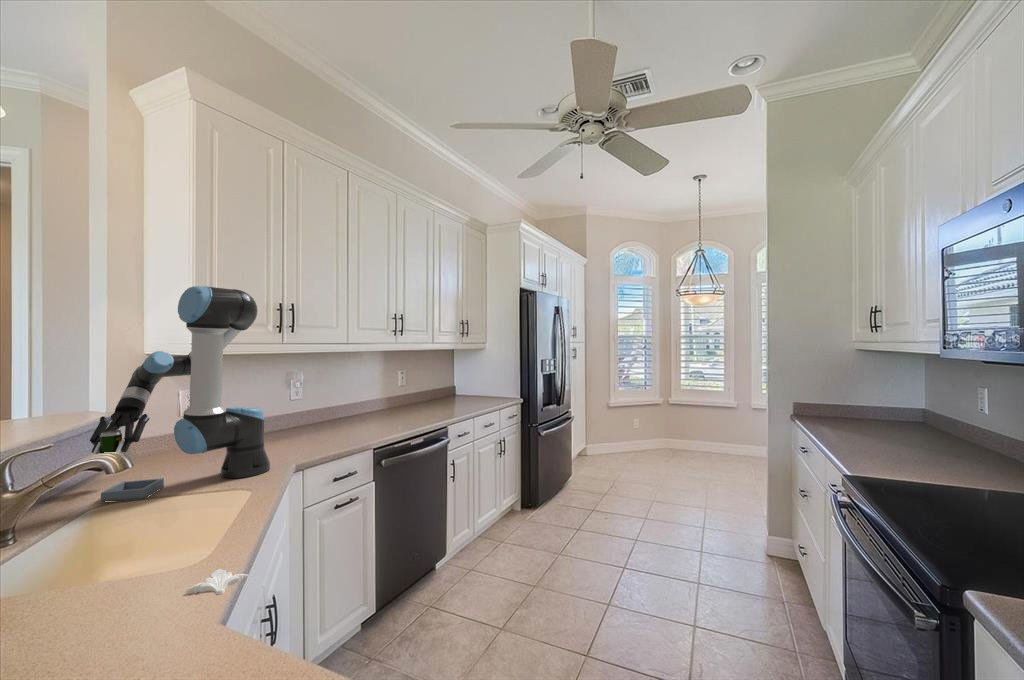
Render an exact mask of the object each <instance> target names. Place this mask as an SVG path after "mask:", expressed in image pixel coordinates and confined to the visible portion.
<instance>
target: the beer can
mask: <svg viewBox="0 0 1024 680" xmlns="http://www.w3.org/2000/svg"><path fill="white" fill-rule="evenodd" d="M122 440H123V433H122V430H121V429H120V430H119V429H118V430H114V431H106V432H102V433H101V435H100V453H104V452H116V450H117V448H118V446H119V443H120V441H122Z"/></svg>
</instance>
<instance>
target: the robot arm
mask: <svg viewBox="0 0 1024 680" xmlns="http://www.w3.org/2000/svg"><path fill="white" fill-rule="evenodd" d="M177 314H178V317H179V319H180V320H181V321H182V322H184V323H185V324H186V325H185V326H186V329H187V330H188V331H189V332H190V333H191V351H190V352H189V353H188V355H171V354H170V353H168V352H165V351H163V350H162V351H161V350H159V351H158V350H157V351H154V352H152V353H151V354H149V356H148V357H146V358H145V359H144V361H143V362H142V364H141V365H138V366H137V367H136V369H135V370H134V372H133V373H132V374H131V377H130V380H129V381H128V384H127V386H126V388H125V389H124V391H123V393H122V395H121V397H120V399H119V401H118V402H117V405H116V407H115V409H114V412H113V413H112V414H111V415H110V416H107V417H105V416H101V417H100V418H99V423H98V425H97V427H96V428H95V430H94V431H93V433H92V434H91V437H90V439H89V442H90V443H91V444H92V445H93V448H92V449H91V453H92V454H98V453H100V435H101V433H102V432H106V431H114V430H119V429H120V428H121V427H125V428H124V437H122V441H120V443H119V446H118V448H117V450H116V452H117V453H121V454H123V455H124V453H126V452H128V450H129V449H130V446H131V444H133V443H138V442H140V439H141V437H142V434H143V432H144V430H145V426H146V424H147V423H148V422H149V421H150V417H149V416H148V413H144V414H143V412H144V411H145V409H146V405H147V404H148V402H149V400H150V398H151V396H152V393H153V391H154V389H155V388H156V385H158V383H159V382H160V381H161V380H162V379H163V378H168V377H169V378H170V377H182V376H190V382H189V383H190V384H189V405H188V406H189V407H187V408H186V409H185V410H184V411H183V418H181V419H179V420H177V421H176V422H175V425H174V427H173V435H174V439H175V443H176V445H177V446H178V448H179V449H180V450H181V452H183V453H185V454H187V455H197V454H204V453H206V452H210V451H216V450H219V449H224V448H225V449H226V453H225V456H224V459H223V461H222V465H221V468H220V476H221V478H225V479H240V478H248V477H249V478H250V477H253V476H259V475H261V474H264V473H267V472H268V471H269V470H271V462H270V460H269V457H268V454H267V451H266V449H265V415H264V410H263V408H262V409H261V408H260V407H242V406H241V407H239V406H238V407H237V406H236V407H226V408H225V407H223V406H222V394H223V393H222V392H223V390H222V389H223V388H222V387H223V386H222V385H223V365H224V364H223V361H224V358H223V357H224V349H226V347H227V346H228V345H229V344H230V343H232V341H233V340H234V339H235V338H236V337H237V336H238V335H239V334H240V333H241V332H242V331H243V332H244V331H246V330H248V329H249V328H250V327H251V326H252V325H253V324H254V322H255V321H256V319H257V316H258V306H257V303H256V301H255V300H254V298H253V297H252V296H251V295H250V294H249V293H248V292H246V291H244V290H241V289H234V288H224V287H223V288H222V287H221V288H220V287H213V286H207V285H205V286H200V285H199V286H197V285H195V286H190V287H188V288H186V289H185V290H184V292H183V293H182V294H181V296H180V298H179V300H178V305H177ZM135 423H136V426H135Z"/></svg>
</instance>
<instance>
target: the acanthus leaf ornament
mask: <svg viewBox="0 0 1024 680" xmlns="http://www.w3.org/2000/svg"><path fill="white" fill-rule="evenodd" d="M247 577H249V574H247V573H246V574H245V573H244V574H243V573H236V574H234V575H233V572H231V571H228V572H227V570H223V569H222V568H218V569H216V570H215V571H213V572H212V573H211V574H210V575H209V577H207V578H205V579H204V582H199V583H196V584H194V585H193V586H191V587H189V588H187V589H186V591H185V593H186V595H190V594H192V593H193V594H196V593H197V594H198V593H199V594H200V593H204V592H215V595H216V596H217V595H223V594H224V593H225V592H226V588H228V587H229V586H231V585H233V584H236V583H238V582H240V581H241V580H243V579H245V578H247Z"/></svg>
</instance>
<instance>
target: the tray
mask: <svg viewBox="0 0 1024 680" xmlns="http://www.w3.org/2000/svg"><path fill="white" fill-rule="evenodd" d="M164 479H165V478H164V477H163V478H152V479H151V478H150V479H137V480H136V479H135V480H126V481H122V482H120V483H118V484H116V485H114V486H111V487H110V488H108V489H105V490H104V491H102V492H100V503H101V502H105V501H120V502H129V501H139V500H140V501H141V500H146V499H148V498H149V497H150V496H149V495H151V494H153V493H154V492H156V491H157V490H159V489H161V488H162V487H164V488H165V480H164ZM162 489H163V488H162ZM162 489H161V490H162ZM159 491H160V490H159ZM157 492H158V491H157ZM157 492H156V493H157ZM154 494H155V493H154ZM154 494H153V495H154ZM148 496H149V497H148ZM151 496H152V495H151ZM147 497H148V498H147Z"/></svg>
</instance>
